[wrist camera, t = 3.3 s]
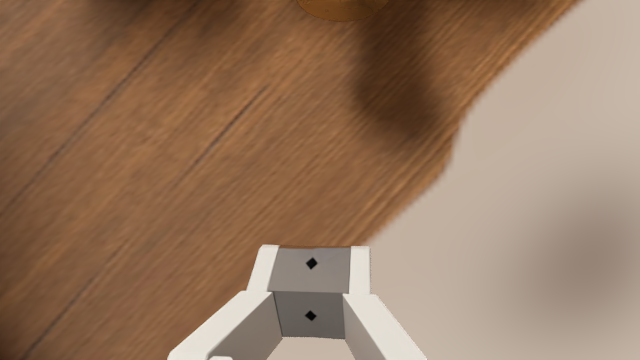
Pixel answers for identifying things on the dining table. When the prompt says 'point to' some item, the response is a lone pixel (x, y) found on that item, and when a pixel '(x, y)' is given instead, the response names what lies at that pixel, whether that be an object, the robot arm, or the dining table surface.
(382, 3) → the brass plug
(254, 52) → the dining table surface
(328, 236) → the dining table surface
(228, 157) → the dining table surface
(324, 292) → the robot arm
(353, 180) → the dining table surface
